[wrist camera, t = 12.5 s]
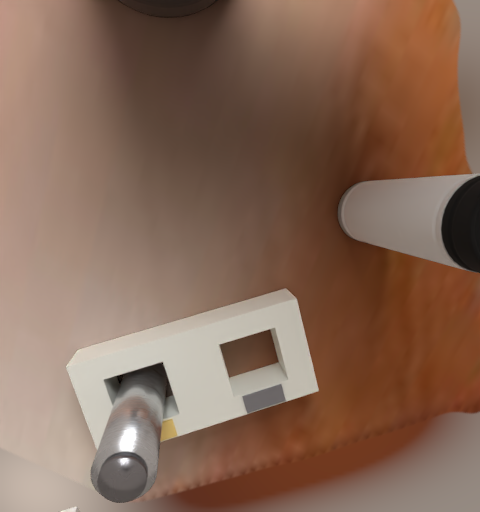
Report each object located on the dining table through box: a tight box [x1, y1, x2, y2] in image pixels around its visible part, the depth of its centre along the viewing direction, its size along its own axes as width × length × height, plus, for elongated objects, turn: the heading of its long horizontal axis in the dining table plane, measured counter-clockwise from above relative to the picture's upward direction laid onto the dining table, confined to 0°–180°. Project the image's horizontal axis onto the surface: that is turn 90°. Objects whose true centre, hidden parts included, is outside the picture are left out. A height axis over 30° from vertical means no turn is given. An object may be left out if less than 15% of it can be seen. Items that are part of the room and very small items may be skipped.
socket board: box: [66, 288, 319, 450], centre depth 39 cm, size 10×22×4 cm, turn 105°
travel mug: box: [338, 174, 480, 273], centre depth 31 cm, size 6×7×20 cm
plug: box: [91, 363, 167, 503], centre depth 33 cm, size 4×4×15 cm
